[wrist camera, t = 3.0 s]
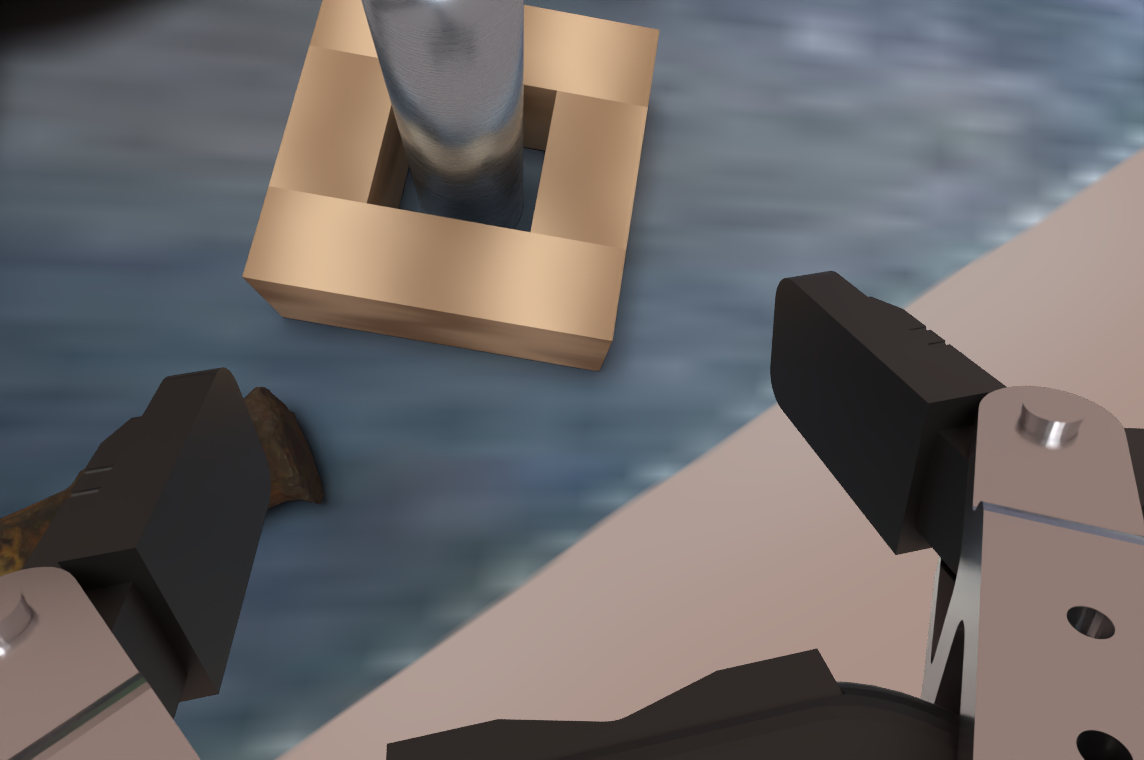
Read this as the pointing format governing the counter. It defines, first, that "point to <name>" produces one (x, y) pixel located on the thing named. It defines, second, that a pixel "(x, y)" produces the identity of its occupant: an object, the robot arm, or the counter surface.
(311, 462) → the hand tool
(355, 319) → the square frame block
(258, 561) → the counter surface
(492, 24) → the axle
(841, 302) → the robot arm
